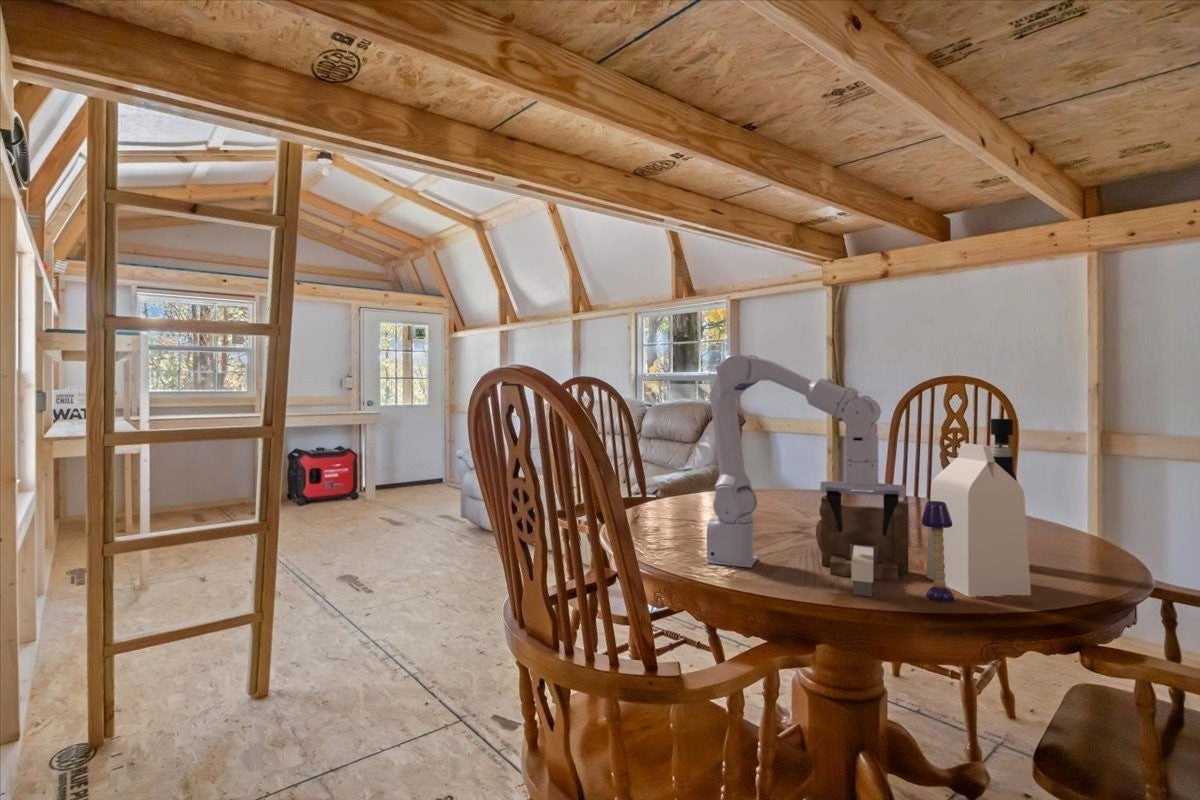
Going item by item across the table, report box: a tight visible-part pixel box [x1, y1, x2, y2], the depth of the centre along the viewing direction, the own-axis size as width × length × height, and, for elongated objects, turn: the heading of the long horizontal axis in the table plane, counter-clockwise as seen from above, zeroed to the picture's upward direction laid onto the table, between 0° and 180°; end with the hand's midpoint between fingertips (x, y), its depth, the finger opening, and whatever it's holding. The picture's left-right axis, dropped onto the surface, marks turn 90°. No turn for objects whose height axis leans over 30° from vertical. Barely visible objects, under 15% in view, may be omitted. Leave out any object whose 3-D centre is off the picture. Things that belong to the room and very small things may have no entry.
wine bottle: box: [990, 418, 1018, 482], centre depth 125 cm, size 6×6×30 cm
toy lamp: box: [921, 501, 955, 603], centre depth 105 cm, size 5×5×17 cm
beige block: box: [850, 544, 878, 598], centre depth 113 cm, size 5×15×6 cm, turn 155°
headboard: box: [820, 496, 909, 582], centre depth 120 cm, size 16×8×14 cm, turn 65°
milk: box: [925, 442, 1032, 598], centre depth 112 cm, size 12×12×26 cm
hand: (862, 532), depth 114 cm, fingers open, 7 cm apart
